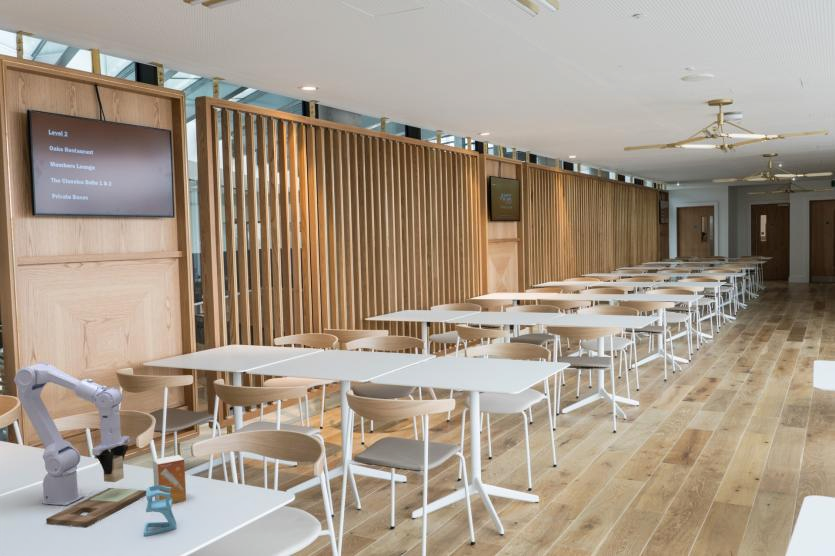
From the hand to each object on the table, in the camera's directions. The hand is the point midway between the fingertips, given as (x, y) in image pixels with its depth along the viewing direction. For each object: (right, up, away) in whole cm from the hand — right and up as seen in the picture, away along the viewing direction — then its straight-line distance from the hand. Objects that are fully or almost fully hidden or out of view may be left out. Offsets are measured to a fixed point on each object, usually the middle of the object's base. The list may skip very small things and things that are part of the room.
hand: (113, 471), depth 222 cm
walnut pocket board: (-2, -10, -6) cm, 11 cm away
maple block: (0, -3, 0) cm, 3 cm away
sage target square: (0, -8, 0) cm, 8 cm away
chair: (+23, -10, -24) cm, 35 cm away
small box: (+18, -9, -2) cm, 21 cm away
